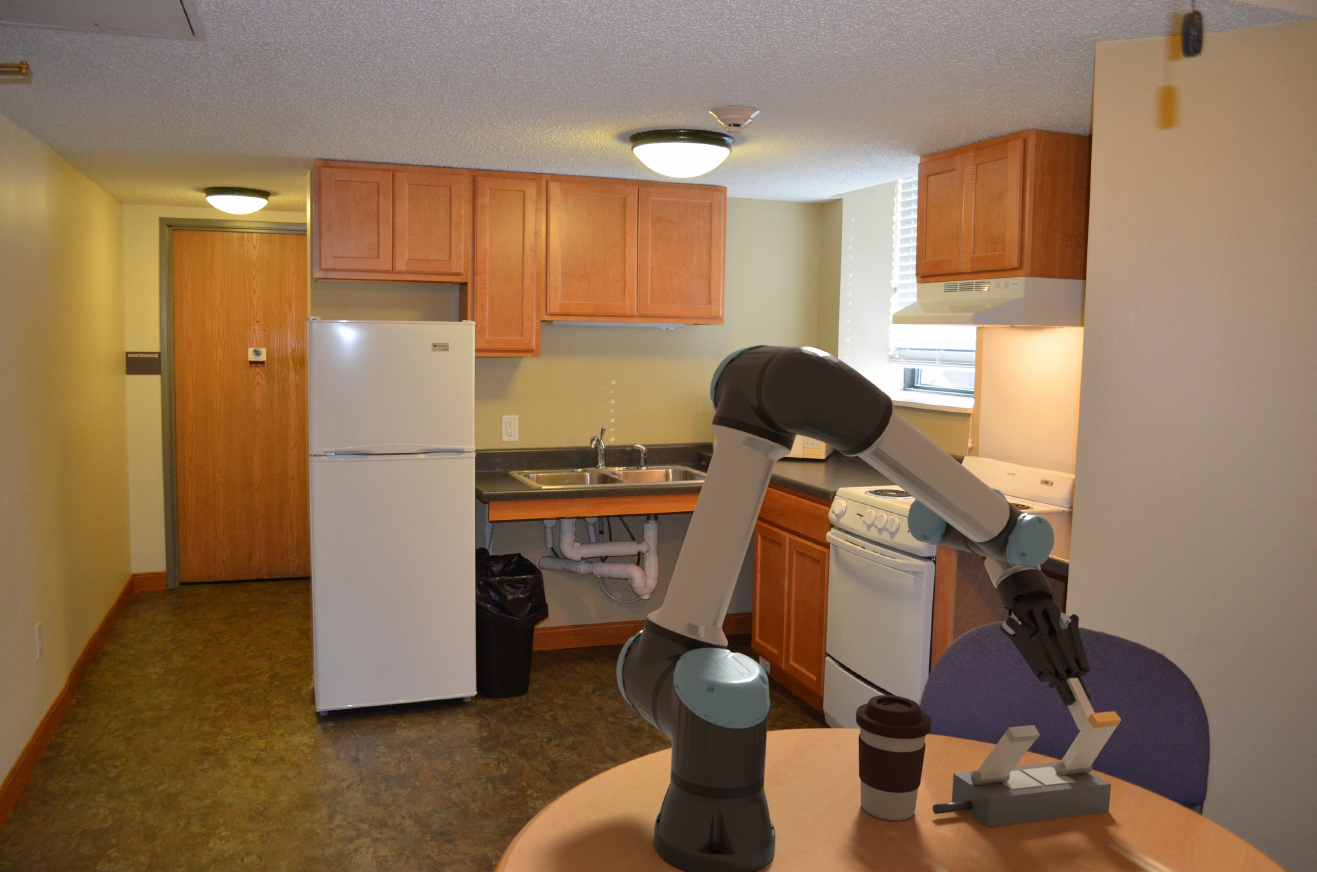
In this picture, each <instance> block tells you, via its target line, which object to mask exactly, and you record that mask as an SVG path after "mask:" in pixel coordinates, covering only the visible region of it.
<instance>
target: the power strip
mask: <svg viewBox="0 0 1317 872" xmlns="http://www.w3.org/2000/svg"><path fill="white" fill-rule="evenodd" d="M1056 762H1057V761H1053V762H1046V763H1044V762H1043V763H1037V764H1036V763H1035V764H1027V765H1025V764H1024V765H1016V766H1015V767H1014V768H1013V770H1012V771H1011V772H1010V773H1009V775H1010V778H1009V781H1006V782H998V783H989V784H980V785H974V784H973V783H972V781H971V772H972V771H973V770H969V771H962V772H961V771H959V772H954V773H953V776H952V777H953V778H952V790H951V791H952V793H951V802H946V803H945V802H944V803H937V804H933V805H932V806H931V807H932V808H931V809H932V813H934V815H941V814H948V813H955V812H963V811H965V812H967V814H969V815H971V816H972V817H973V818H974V819H975V820H976V821H978V822H979V823H981V824H982V825H983V826H985V827H986V828H993V827H1000V826H1009V825H1015V824H1016V825H1017V824H1023V823H1024V824H1025V823H1031V822H1040V821H1048V820H1049V821H1050V820H1056V819H1063V818H1071V817H1077V816H1087V815H1094V814H1102V813H1108V812H1109V811H1110V804H1111V803H1110V801H1111V789H1112V783H1110V782H1108V781H1107V780H1105V779H1104V778H1101V777H1100V776H1098V775H1096V774H1094V773H1092V771H1091V772H1086V773H1077V774H1068V775H1059V774H1057V773H1056V771H1055V763H1056Z"/></svg>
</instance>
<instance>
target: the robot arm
mask: <svg viewBox="0 0 1317 872" xmlns="http://www.w3.org/2000/svg"><path fill="white" fill-rule="evenodd" d="M709 395H710V396H709V397H710V401H712V408H713V410H714V411H715V412H714V415H713V419H712V422H711V425H710V429H711V432H712V433H713V435H714V438H715V440H716V441H715V442H716V444H715V448H714V451H713V453H712V457H711V459H710V462H709V464H708V465H709V466H708V469H707V472H706V475H705V477H704V480H703V484H702V487H701V489H700V492H699V494H698V495H699V496H698V499H697V501H696V504H695V507H694V510H693V514H692V517H691V520H690V523H689V525H688V529H687V532H686V535H685V538H684V540H683V543H682V547H681V549H680V552H679V555H678V558H677V561H676V564H675V568H674V570H673V574H672V576H671V578H670V579H671V580H670V583H669V585H668V589H667V591H666V594H665V597H664V600H663V603H662V605H661V606H660V607H659V608H658V609H655V610H654V611H652V612H649V613H648V614H647V615H646V619H645V623H644V625H643V629H641V630H639V631H638V632H637V633H636V634H635V635H634V636H631V637H630V638H629V639H628V640H627V641H626V642H625V644H624V645H623V647H622V648H621V650H620V653H619V655H618V658H617V663H616V679H617V680H616V681H617V686H618V688H619V691H620V693H621V695H622V696H623V697H622V698H624V700H625V701H626V702H627V704H629V706H630V708H631V709H632V710H633V711H634V712H635V714H636V715H638V716H639V717H641V718H643V720H646V721H647V722H648V723H649V724H651V725H652V726H654V727H655V728H656V729H657V730H658V731H660V732H661V733H662V734H664V735H665V736H666V737H667V738H668V739H670V740H671V755H670V756H671V758H670V759H671V761H670V781H669V784H668V787H667V790H666V793H665V795H664V797H663V800H662V803H661V807H660V810H659V813H658V814H657V816H656V819H655V821H654V826H653V827H654V830H653V845H654V848H655V851H656V853H658V855H659V856H660V857H661V858H662V859H664V861H666V862H667V863H669V864H670V865H672V866H674V867H676V868H679V869H680V870H684V871H686V872H755V871H758V870H760V869H763V868H764V867H766V865H767V866H768V865H769V863H770V862H771V861H772V859H773V858H774V856H775V851H776V838H777V837H776V836H777V835H776V829H775V825H774V823H773V821H772V820H771V816H770V810H769V805H768V801H767V800H768V799H767V796H766V792H765V774H766V771H765V770H766V757H767V755H766V753H767V741H768V740H767V739H768V736H767V735H768V723H769V722H768V718H769V711H770V707H771V702H770V701H771V700H770V689H769V688H770V687H769V685H770V684H769V678H768V674H767V673H766V671H765V669H764V668H763V667H762V666H761V665H760V664H759V663H758V662H757V661H756V660H754V659H753V658H751V657H750V656H748V655H746V654H743V653H740V652H731V650H729V649H727V647H728V644H729V642H728V639H727V637H726V634H725V632H724V631H723V623H724V620H725V618H726V614H727V611H728V608H729V605H730V602H731V600H732V596H733V594H734V591H735V587H736V584H737V582H738V578H739V575H740V572H741V570H742V569H741V568H742V565H743V563H744V560H745V556H746V553H747V551H748V547H749V546H750V545H749V544H750V542H751V539H752V536H753V532H754V529H755V527H756V523H757V520H758V517H759V514H760V511H761V508H762V505H763V502H764V500H765V499H764V498H765V495H766V493H767V490H768V486H769V483H770V481H771V478H772V475H773V472H774V469H775V465H776V464H777V462H778V461H779V460H780V459H783V458H785V457H787V456H789V455H790V454H791V453H792V449H793V446H794V443H795V441H796V437H797V436H801V437H807V438H810V439H813V440H816V441H819V442H822V443H825V444H826V445H828V446H830V447H832V448H834V449H835V450H836V451H838V452H839V453H840V454H842V455H843V456H846V457H859V458H860V459H862V460H863V461H864V462H866V463H867V464H868V465H870V467H872V468H873V469H875V470H876V471H878V472H879V473H880V474H881V475H883V476H884V477H886V478H887V479H888V480H890V481H891V482H892V483H893V484H895V485H896V486H897V487H899V488H901V489H902V490H903V491H904V492H905V493H907V494H908V495H910V496H911V497H912V498H914V499H915V500H913V501H912V503H911V504H910V507H909V509H908V514H907V519H906V520H907V527H908V531H909V533H910V534H911V536H912V537H913V538H914V539H915V540H916V541H918V542H920V543H926V544H928V545H932V546H935V545H937V546H939V545H940V546H945V547H948V548H951V549H956V550H959V551H963V552H967V553H971V554H974V555H979V556H980V558H981V560H982V563H983V565H984V567H985V570H986V572H987V574H988V576H989V578H990V580H991V582H992V585H993V587H994V588H996V594H997V595H998V599H1000V602H1001V605H1002V607H1003V608H1004V609H1005V611H1006V612H1007V616H1008V618H1006V619H1005V621H1003V622H1002V623H1001V624H1000V625H999V630H1000V631H1001V632H1002V633H1003V634H1004V635H1005V636H1007V637H1008V638H1009V639H1010V641H1011V642H1012V643H1013V645H1014V647H1015V648H1016V649H1017V650H1018V652H1019V653H1020V655H1021V656H1022V657H1023V659H1024V661H1025V662H1026V663H1027V666H1029V668H1030V670H1031V671H1032V673H1034V675H1035V677H1036V678H1037V680H1038V681H1039V682H1040V683H1043V684H1044V683H1046V682H1047V683H1048V684H1047V686H1048V687H1049V688H1050V689H1052V690H1053V689H1055V690H1056V692H1057V693H1058V696H1059V697H1060V700H1061V702H1062V704H1063V705H1064V706H1065V707H1068V710H1069V712H1070V714H1071V716H1072V718H1073V720H1074V722H1075V725H1076V727H1077V729H1078V731H1081V729H1082V727H1083V726H1084V724H1085V723H1086V721H1087V719H1088V717H1089V716H1090V714H1091V713H1095V711H1094V708H1093V707H1092V704H1091V702H1090V700H1091V696H1090V693H1089V692H1088V690H1087V687H1086V685H1085V684H1084V682H1083V678H1084V677H1085V676H1087V675H1088V674H1089V673H1090V672H1091V669H1090V665H1089V662H1088V658H1087V654H1086V651H1085V648H1084V647H1085V646H1084V644H1083V641H1082V636H1081V634H1080V629H1079V622H1080V618H1079V616H1078V615H1077V614H1075V613H1073V614H1071V615H1068V614H1066V613H1064V612H1062V610H1061V608H1060V606H1059V605H1058V604H1057V603H1056V602H1055V601H1054V597H1053V589H1052V587H1051V584H1050V583H1049V581H1048V579H1047V577H1046V575H1045V573H1044V572H1043V571H1041V570H1042V569H1041V565H1043V564H1044V563H1045V562H1046V561H1047V560H1048V559H1049V557H1050V555H1051V552H1052V551H1053V549H1054V545H1055V531H1054V528H1053V525H1052V524H1051V523H1050V521H1049V520H1048V519H1046V518H1044V517H1043V516H1041V515H1038V514H1035V513H1033V512H1029V511H1028V512H1024V511H1021V510H1020V509H1018V508H1017V507H1016V506H1014V505H1013V504H1012V503H1011V502H1010V501H1008V499H1007V498H1006V496H1005V495H1004V493H1003V492H1001V490H999V489H997V488H991V487H990V486H989V485H988V484H986V483H985V481H982V480H981V479H980V478H979V477H977V476H976V474H974V473H973V472H971V471H970V470H969V469H968V468H966V467H965V466H963V465H962V463H960V462H959V461H958V460H956V459H955V458H954V457H953V456H951V455H950V453H948V452H947V451H946V450H944V449H943V448H942V447H941V446H939V445H938V444H936V442H934V441H933V440H931V438H929V437H928V436H926V435H925V434H924V433H923V432H922V431H920V430H919V429H918V428H916V426H914V425H913V424H911V423H910V422H909V421H908V420H907V419H905V418H904V417H903V416H902V415H900V414H899V413H898V412H897V411H895V405H894V401H893V399H892V398H891V397H890V395H888V394H887V393H885V391H883V390H882V389H881V388H879V387H878V386H877V385H876V384H875V383H874V382H872V381H871V380H869V379H868V378H867V377H865V376H864V375H863V374H862V373H860V372H859V371H858V370H856V369H855V368H854V367H852V366H850V365H849V364H848V363H846V362H844V361H843V360H841V359H840V358H838V357H836V356H835V355H833V354H830V353H829V352H827V351H826V350H821V349H818V348H815V347H812V346H802V345H801V346H799V345H798V346H797V345H796V346H784V345H783V346H779V345H777V346H775V345H769V344H756V345H753V346H751V345H750V346H748V347H742V348H740V349H737V350H735V351H733V352H731V353H729V354H728V355H726V357H725V358H723V360H722V361H721V362H720V363H719V365H717V367H716V369H715V371H714V373H713V375H712V378H711V382H710V390H709Z"/></svg>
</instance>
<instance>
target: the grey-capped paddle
mask: <svg viewBox="0 0 1317 872" xmlns="http://www.w3.org/2000/svg"><path fill="white" fill-rule="evenodd" d="M1040 735H1041V734H1040V732H1039V731H1038V729H1037V727H1036V726H1035V725H1034V724H1033V725H1032V724H1031V725H1019V726H1009V727H1007V729H1006V730H1005V732H1004V733H1003V736H1002V737H1001V738H1000V739H999V741H997V743H996V745H995V746H994V747H993V749H992V750H991V751H990V752H989V754H988V755H987V757H986V758H985V760H983V762H982V763H981V765H980V766H979V768H978V769H977V770H971V771H972V772H971V781H972V783H973V784H974V785H980V784H989V783H998V782H1006V781H1009V778H1010V775H1009V773H1010V772H1011V771H1012V770H1013V768H1014V767H1015V766H1017V765H1018V763H1019V762H1020V760H1021V759H1022V758H1023V757H1024V756H1025V755H1026V752H1028V750H1030V748H1031V747H1032V746H1033V745H1034V743H1035V742H1036V741H1037V740H1038V738H1039V737H1040Z"/></svg>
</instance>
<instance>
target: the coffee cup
mask: <svg viewBox="0 0 1317 872" xmlns="http://www.w3.org/2000/svg"><path fill="white" fill-rule="evenodd" d="M855 712H856V713H855V722H856V724H857V725H858V727H859V734H858V777H859V780H860V805H861V808H862V809H863V811H865V812H866V813H867V814H869V815H871V816H873V817H875V818H877V819H881V820H886V821H904V820H908V819H909V818H911V817H913V816H914V814H915V812H916V807H917V798H918V791H919V788H920V786H921V781H922V774H923V768H924V767H923V766H924V761H925V760H924V759H925V755H926V754H925V753H926V746H927V745H926V742H925V741H926V737H927V735H928V734H930V732H931V729H932V719H931V716H929V714H927V713H926V712H925V711H923V710H922V709H921V706H920V705H919V703H918V702H916V701H914V700H913V699H910V698H908V697H904V696H899V695H891V694H889V695H888V694H882V695H881V694H879V695H875V696H872V697H871V698H869V700H868V702H867V703H864V704H862V705H860V706H858V707H857V709H856V711H855Z"/></svg>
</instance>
